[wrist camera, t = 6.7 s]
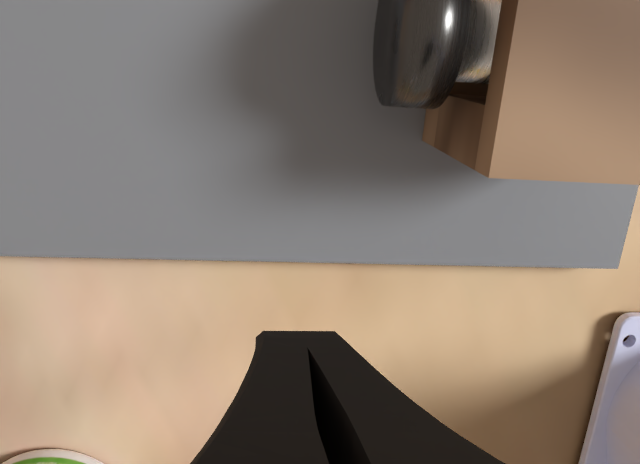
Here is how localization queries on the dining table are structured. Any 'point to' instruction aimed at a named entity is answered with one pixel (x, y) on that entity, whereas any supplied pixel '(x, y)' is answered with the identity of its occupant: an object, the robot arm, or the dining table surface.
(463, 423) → the dining table surface
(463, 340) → the dining table surface
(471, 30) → the shaft
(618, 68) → the bearing block
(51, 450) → the supplement bottle
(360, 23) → the base board
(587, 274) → the dining table surface
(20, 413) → the dining table surface
